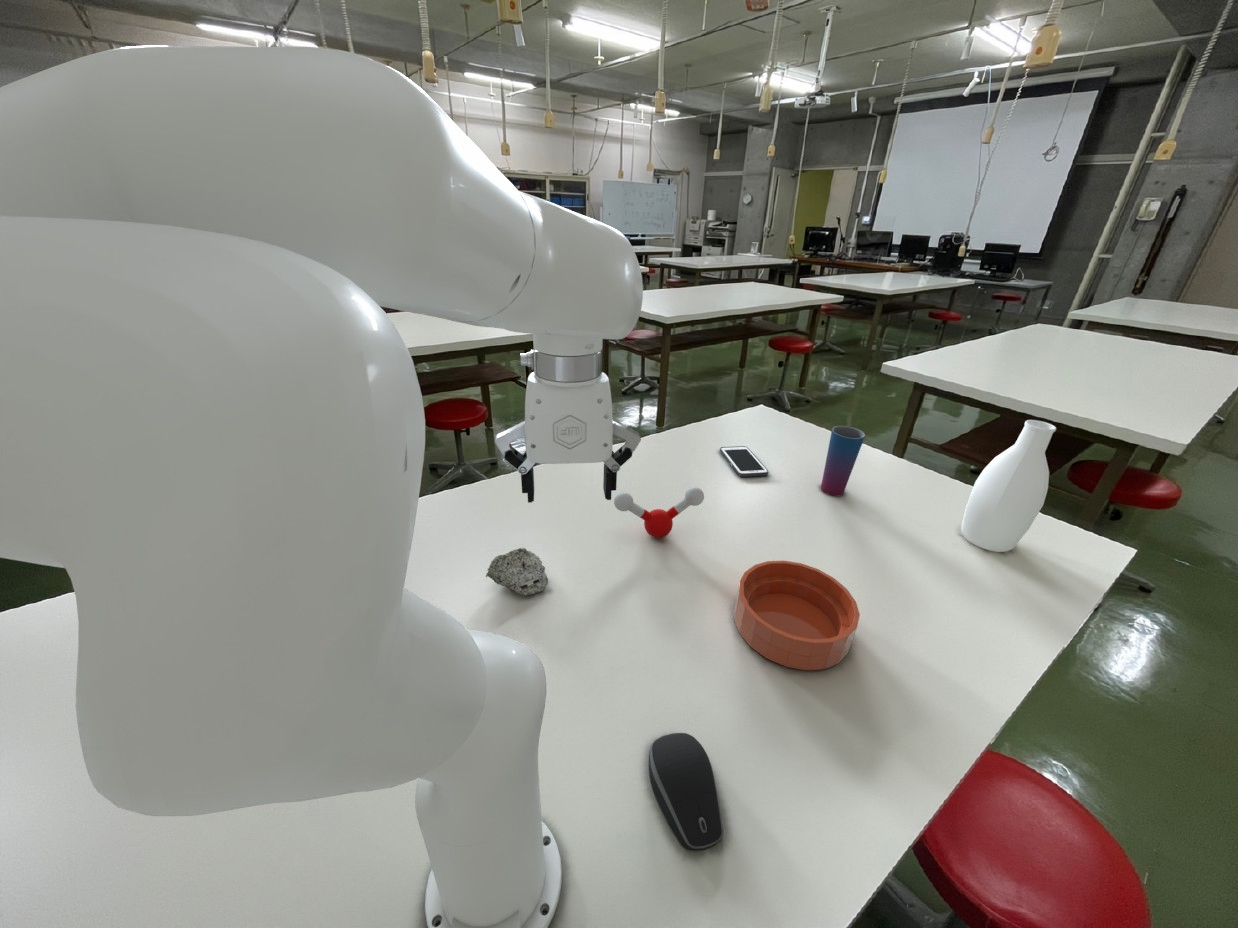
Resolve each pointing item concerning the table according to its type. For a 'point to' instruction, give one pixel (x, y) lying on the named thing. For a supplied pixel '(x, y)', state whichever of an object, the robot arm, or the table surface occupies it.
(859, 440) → the cup
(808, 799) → the table surface
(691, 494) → the molecular model
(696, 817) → the computer mouse
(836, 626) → the bowl
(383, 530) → the robot arm
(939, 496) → the table surface
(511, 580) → the rock sample
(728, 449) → the cell phone
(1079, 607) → the table surface
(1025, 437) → the bottle
